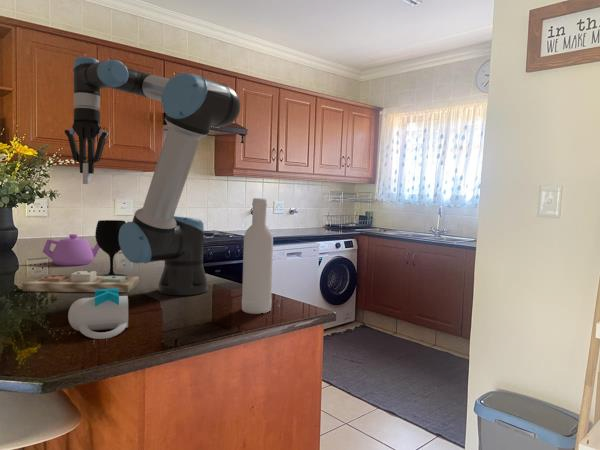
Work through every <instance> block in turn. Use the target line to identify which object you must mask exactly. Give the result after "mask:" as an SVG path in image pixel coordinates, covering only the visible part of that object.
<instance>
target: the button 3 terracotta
mask: <svg viewBox="0 0 600 450" xmlns="http://www.w3.org/2000/svg"><path fill="white" fill-rule="evenodd" d="M46 275H47V274H46ZM67 276H68V275H67V274H48V275H47V276H44V277H42V278H40V281H47V282H61V281H63V280H65V279H67Z"/></svg>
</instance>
